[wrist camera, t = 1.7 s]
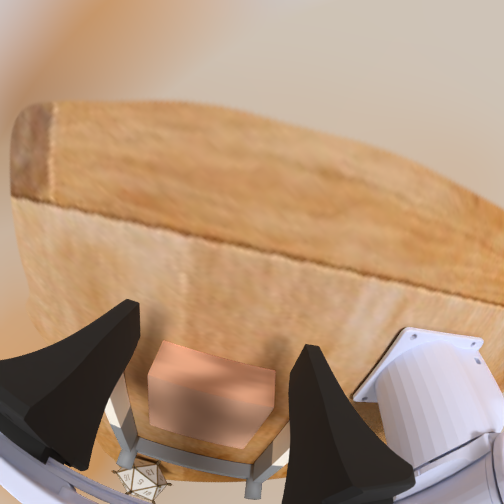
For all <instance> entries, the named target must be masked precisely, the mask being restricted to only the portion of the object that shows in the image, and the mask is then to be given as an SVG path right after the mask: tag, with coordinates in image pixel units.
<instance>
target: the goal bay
mask: <svg viewBox="0 0 504 504" xmlns="http://www.w3.org/2000/svg"><path fill="white" fill-rule="evenodd" d="M110 425H111V427H112V429H113V431H114V434H115V436H116V438H117V440H118V442H119V444H120V446H121V448H122V450H121V452H120V455H119V457H118V460H117V463H116V464H117V465H119V466H121V467H123V468H125V469H128V470H131V469H132V466H133V463H134V460H135V457H136V455H137V452H138V453H141V454H143V455H146V456H149V457H152V458H155V459H158V460H162V461H165V462H168V463H172V464H175V465H179V466H183V467H186V468H190V469H194V470H199V471H203V472H208V473H213V474H218V475H223V476H229V477H235V478H242V479H247V480H246V488H245V497H244V498H246V499H254V500H257V499H261V490H262V483H263V482H264V481H266V480H267V479H268V478H269V477H271V476H272V475H273V474H275V473H276V472H277V471H278V470H280V469H281V468H282V467H283V466H275V465H272V452H273V442H272V443H271V444H270V445H269V446H268V448H267V449H266V450H265V451H264V452H263V453H262V454H261V456H260V457H259V458H258V459H257V460H256V461H255V463H254V464H251V465H250V464H243V463H237V462H231V461H226V460H220V459H215V458H211V457H206V456H202V455H197V454H193V453H189V452H185V451H182V450H178V449H175V448H171V447H168V446H164V445H161V444H158V443H155V442H152V441H149V440H146V439H143V438H140V437H139V436H137V434H138V433H137V430H136V426H135V422H134V418H133V414H132V410H131V406H130V408H129V410H128V412H127V415H126V417H125V419H124V422H123V424H122V426H121V428H119V427H117V426H115V425H112V424H110Z"/></svg>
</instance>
